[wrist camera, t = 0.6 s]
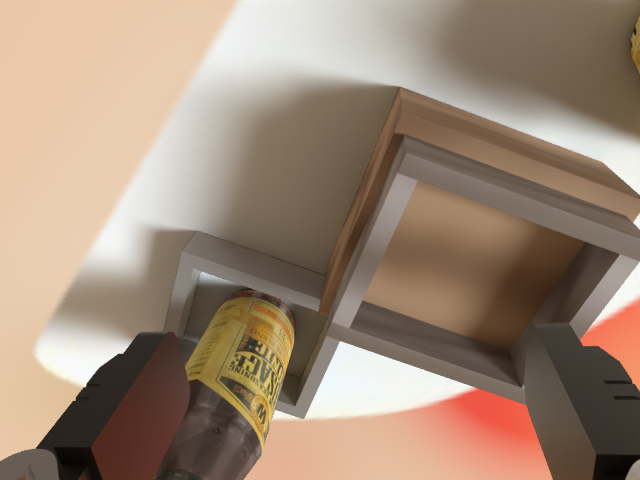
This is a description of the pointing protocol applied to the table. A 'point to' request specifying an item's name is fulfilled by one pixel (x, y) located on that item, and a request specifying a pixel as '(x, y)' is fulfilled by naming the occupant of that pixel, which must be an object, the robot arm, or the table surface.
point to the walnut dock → (474, 245)
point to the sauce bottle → (232, 390)
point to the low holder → (261, 277)
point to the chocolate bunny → (636, 45)
